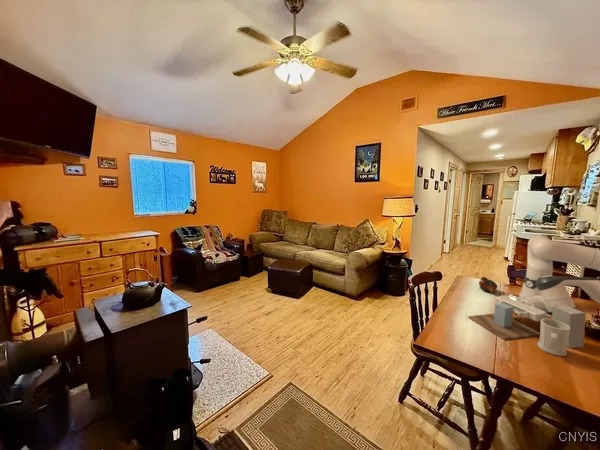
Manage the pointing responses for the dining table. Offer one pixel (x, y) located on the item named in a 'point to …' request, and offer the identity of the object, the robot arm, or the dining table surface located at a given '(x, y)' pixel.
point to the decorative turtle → (487, 285)
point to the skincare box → (571, 324)
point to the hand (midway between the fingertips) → (506, 309)
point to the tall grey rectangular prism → (503, 315)
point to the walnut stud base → (504, 333)
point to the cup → (553, 337)
